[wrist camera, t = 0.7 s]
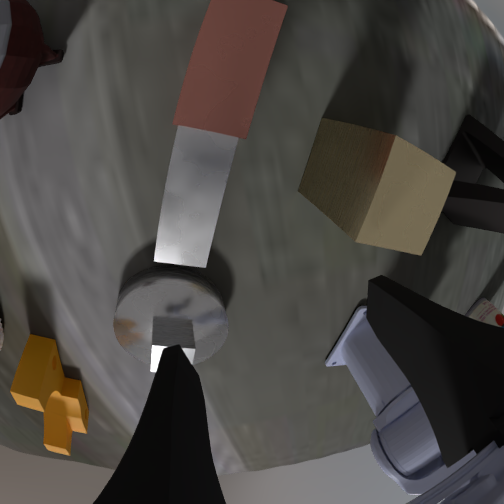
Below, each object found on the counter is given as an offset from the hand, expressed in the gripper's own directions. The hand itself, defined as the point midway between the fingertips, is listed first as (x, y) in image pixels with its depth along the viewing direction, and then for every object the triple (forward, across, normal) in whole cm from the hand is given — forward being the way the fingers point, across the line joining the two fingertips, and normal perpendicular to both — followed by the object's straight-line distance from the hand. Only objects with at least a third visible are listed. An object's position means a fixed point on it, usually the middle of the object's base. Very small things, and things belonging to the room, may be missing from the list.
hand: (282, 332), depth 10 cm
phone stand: (+10, -21, +1) cm, 23 cm away
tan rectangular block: (+10, -8, -2) cm, 13 cm away
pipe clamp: (+10, +21, +10) cm, 25 cm away
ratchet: (+10, +2, -2) cm, 10 cm away
